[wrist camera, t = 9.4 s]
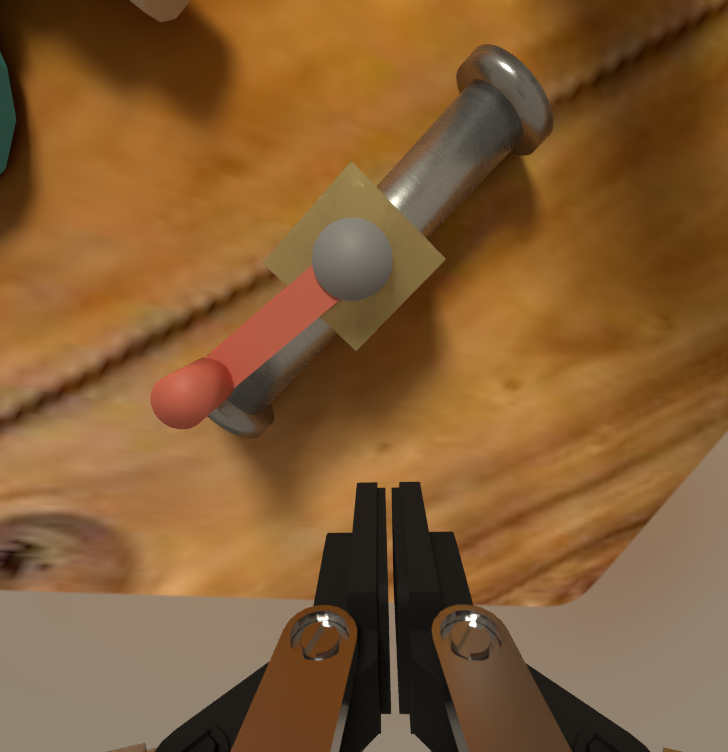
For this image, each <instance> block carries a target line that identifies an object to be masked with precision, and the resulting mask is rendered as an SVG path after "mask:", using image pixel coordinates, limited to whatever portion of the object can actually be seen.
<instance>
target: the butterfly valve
mask: <svg viewBox="0 0 728 752" xmlns="http://www.w3.org/2000/svg"><path fill="white" fill-rule="evenodd" d="M130 1H131V2H132V3H133V4H135V5H136V6H137V7H139V8H140V9H141V10H142V11H144V12H145V13H146V14H148V15H149V16H151V17H152V18H154V19H156V20H157V21H159V22H165V21H169V20H173V19H176V18H177V16H178V15H179V14H180V13H181V12H182V11H183V9H184V8H185V7H186V6H187V5H188V3H189V1H190V0H130ZM15 124H16V115H15V109H14V104H13V98H12V92H11V86H10V81H9V75H8V69H7V66H6V64H5V61H4V59H3V57H2V54H1V52H0V174H1V173H2V172H3V171H4V170H5V169H6V166H7V161H8V156H9V152H10V147H11V142H12V138H13V133H14V128H15Z"/></svg>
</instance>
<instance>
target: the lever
mask: <svg viewBox="0 0 728 752" xmlns="http://www.w3.org/2000/svg"><path fill="white" fill-rule="evenodd" d="M392 261H393V257H392V250H391V246H390V243H389V241H388V239H387V237H386V236H385V234H384V233H383V232H382V231H381V230H380V229H379V228H378V227H377V226H376V225H374V224H373V223H371V222H369V221H367V220H364V219H361V218H352V217H350V218H343V219H340V220H337V221H335V222H333V223H331V224H330V225H328V226H327V227H326V228H325V229H324V230H323V231H322V232H321V233H320V235H319V236H318V238H317V240H316V242H315V244H314V248H313V252H312V266H310V267H309V268H308V269H307V270H306V271H305V272H303V273H302V274H301V275H300V276H299V277H298V278H296V279H295V280H294V281H293V282H292V283H291V284H290V285H288V286H287V287H286V288H285V289H284V290H283V291H281V292H280V293H279V294H278V295H277V296H276V297H274V298H273V299H272V300H271V301H270V302H269V303H267V304H266V305H265V306H264V307H263V308H262V309H261V310H259V311H258V312H257V313H256V314H255V315H254V316H252V317H251V318H250V319H249V320H248V321H247V322H245V323H244V324H243V325H242V326H241V327H240V328H239V329H237V330H236V331H235V332H234V333H233V334H232V335H230V336H229V337H228V338H227V339H226V340H225V341H223V342H222V343H221V344H220V345H219V346H218V347H217V348H215V349H214V350H213V351H212V352H211V353H210V354H208V355H207V356H206V357H204V358H201V359H199V360H197V361H195V362H193V363H191V364H189V365H187V366H185V367H183V368H181V369H179V370H177V371H175V372H173V373H171V374H169V375H167V376H165V377H164V378H162V379H160V380H159V381H158V382H157V383H156V384H155V386H154V388H153V390H152V393H151V405H152V409H153V411H154V413H155V415H156V416H157V417H158V418H159V420H161V421H162V422H163V423H164V424H166V425H168V426H170V427H172V428H176V429H188V428H192V427H194V426H196V425H197V424H199V423H200V422H201V421H202V420H203V419H205V418H206V417H207V416H208V415H209V414H210V413H211V412H213V411H214V410H215V409H216V408H217V407H218V406H219V405H221V404H222V403H223V402H224V401H225V400H226V399H227V398H228V397H229V396H230V395H231V394H232V392H233V390H234V388H235V387H236V386H237V385H238V384H240V383H241V382H242V381H243V380H244V379H246V378H247V377H248V376H249V375H250V374H252V373H253V372H254V371H255V370H256V369H258V368H259V367H260V366H261V365H262V364H264V363H265V362H266V361H267V360H268V359H270V358H271V357H272V356H273V355H274V354H276V353H277V352H278V351H279V350H280V349H281V348H283V347H284V346H285V345H286V344H287V343H289V342H290V341H291V340H292V339H293V338H295V337H296V336H297V335H298V334H299V333H301V332H302V331H303V330H304V329H305V328H307V327H308V326H309V325H310V324H311V323H313V322H314V321H315V320H316V319H317V318H319V317H320V316H321V315H322V314H323V313H325V312H326V311H327V310H328V309H329V308H331V307H332V306H333V305H334V304H335V303H337V302H338V301H339V300H340V299H342V300H347V301H359V300H363V299H366V298H369V297H371V296H372V295H374V294H375V293H377V292H378V291H379V290H380V289H381V288H382V287H383V286H384V285H385V283H386V281H387V280H388V278H389V275H390V273H391V269H392Z"/></svg>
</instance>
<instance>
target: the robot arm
mask: <svg viewBox="0 0 728 752" xmlns="http://www.w3.org/2000/svg"><path fill="white" fill-rule="evenodd" d="M392 532H393V579H394V603H395V625H396V645H397V669H398V692H399V712H400V714H410V727H411V734H415V735H416V736H417V737H418V738H419V739H420V740H421V741H422V742H423V743H424V744H425V745H426V746H427V747H428V748H429V749H430V750H431V752H650V751H649V750H648V749H647V747H646V746H645V745H643V744H642V743H641V742H640V741H639V740H637V739H636V738H635V737H634V736H632V735H631V734H630V733H628V732H627V731H625V730H624V729H623V728H621V727H619V726H618V725H617V724H615V723H614V722H612V721H611V720H609V719H608V718H606V717H605V716H603V715H602V714H600V713H599V712H597V711H596V710H594V709H593V708H591V707H590V706H588V705H587V704H585V703H584V702H582V701H581V700H579V699H578V698H576V697H575V696H574V695H572V694H571V693H569V692H567V691H566V690H564V689H563V688H562V687H560V686H559V685H557V684H556V683H554V682H553V681H551V680H550V679H548V678H547V677H545V676H544V675H542V674H541V673H539V672H538V671H536V670H535V669H533V668H532V667H530V666H529V665H527V664H526V663H525V662H524V660H523V658H522V656H521V654H520V652H519V650H518V648H517V646H516V645H515V643H514V641H513V639H512V637H511V635H510V633H509V631H508V630H507V628H506V627H505V625H504V624H503V623H502V621H501V620H500V619H499V618H498V617H496V616H495V615H494V614H493V613H491V612H489V611H487V610H485V609H483V608H481V607H477V606H473V602H472V599H471V595H470V591H469V588H468V584H467V580H466V576H465V573H464V569H463V565H462V562H461V558H460V554H459V550H458V547H457V543H456V539H455V536H454V533H453V532H429V530H428V525H427V519H426V513H425V508H424V502H423V497H422V491H421V486H420V482H399V488H392ZM381 714H391V692H390V652H389V611H388V570H387V534H386V499H385V488H377V482H374V483H357V489H356V500H355V510H354V521H353V531H352V533H328V534H327V536H326V541H325V546H324V552H323V557H322V563H321V568H320V573H319V579H318V584H317V590H316V595H315V600H314V606H313V607H309V608H306V609H304V610H302V611H301V612H299V613H297V614H296V615H295V616H294V617H293V618H291V619H290V620H289V622H288V623H287V625H286V626H285V628H284V629H283V632H282V634H281V636H280V639H279V641H278V644H277V646H276V648H275V650H274V652H273V655H272V657H271V660H270V662H268V663H267V664H265V665H264V666H263V667H261V668H260V669H258V670H257V671H256V672H254V673H253V674H252V675H250V676H249V677H247V678H246V679H245V680H243V681H242V682H241V683H239V684H238V685H236V686H235V687H234V688H232V689H231V690H229V691H228V692H227V693H225V694H224V695H223V696H221V697H220V698H219V699H217V700H216V701H214V702H213V703H212V704H210V705H209V706H207V707H206V708H205V709H203V710H202V711H201V712H199V713H198V714H197V715H195V716H194V717H192V718H191V719H190V720H188V721H187V722H185V723H184V724H183V725H181V726H180V727H179V728H177V729H176V730H175V731H173V732H172V733H171V734H170V735H169V736H168V737H167V738H166V739H164V740H163V741H162V742H161V744H160V745H159V746H158V748H153V749H149V750H147V749H146V744H145V743H142V744H138V745H133V746H129V747H125V748H120V749H116V750H112V751H108V752H363V750H364V749H365V748H366V746H367V745H368V744H369V743H370V742H371V741H372V740H373V739H374V738H375V737H376V736H377V735H378V734H380V733H381ZM663 752H681V751H676V750H672V749H668V748H663Z"/></svg>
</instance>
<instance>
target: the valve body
mask: <svg viewBox="0 0 728 752" xmlns="http://www.w3.org/2000/svg"><path fill="white" fill-rule="evenodd" d="M457 85H458V89H459V92H460V94H459V95H458V97H457V98H456V99H455V100H454V101H453V102H452V103H451V104H450V105H449V107H448V108H447V109H446V110H445V111H444V112H443V113H442V114H441V115H440V117H439V118H438V119H437V120H436V121H435V122H434V123H433V124H432V125H431V127H430V128H429V129H428V130H427V131H426V132H425V133H424V134H423V135H422V137H421V138H420V139H419V140H418V141H417V142H416V143H415V144H414V146H413V147H412V148H411V149H410V150H409V151H408V152H407V153H406V154H405V156H404V157H403V158H402V159H401V160H400V161H399V162H398V163H397V164H396V166H395V167H394V168H393V169H392V170H391V171H390V172H389V173H388V174H387V176H386V177H385V178H384V179H383V180H382V181H381V182H380V183H379V184H378V186H377V187H376V186H375V185H374V184H373V183H372V182H371V181H370V180H369V179H368V178H367V177H366V176H365V175H364V174H363V173H362V172H361V171H360V170H359V169H358V168H357V167H356V166H355V165H354V164H353V162H352V161H351V162H350V163H349V165H348V166H347V167H346V168H345V169H344V170H343V171H342V173H341V174H340V175H339V176H338V177H337V178H336V180H335V181H334V182H333V183H332V184H331V185H330V186H329V188H328V189H327V190H326V191H325V192H324V193H323V194H322V196H321V197H320V198H319V199H318V200H317V201H316V202H315V204H314V205H313V206H312V207H311V208H310V209H309V210H308V212H307V213H306V214H305V215H304V216H303V217H302V218H301V220H300V221H299V222H298V223H297V224H296V225H295V226H294V228H293V229H292V230H291V231H290V232H289V233H288V234H287V236H286V237H285V238H284V239H283V240H282V241H281V243H280V244H279V245H278V246H277V247H276V248H275V249H274V251H273V252H272V253H271V254H270V255H269V256H268V257H267V259H266V260H265V261H264V262H263V264H264V265H265V266H266V267H267V268H268V269H270V270H271V271H272V272H273V273H274V274H275V275H276V276H277V277H278V278H279V279H280V280H281V281H282V282H283V283H284V284H285V285H286V286H288V285H290V284H291V283H292V282H293V281H294V280H295V279H296V278H298V277H299V276H300V275H301V274H302V273H303V272H305V271H306V270H307V269H308V268H309V267H310V266H312V252H313V248H314V244H315V242H316V240H317V238H318V236H319V235H320V233H321V232H322V231H323V230H324V229H325V228H326V227H327V226H328V225H330V224H331V223H333V222H335V221H337V220H340V219H343V218H350V217H352V218H361V219H364V220H367V221H369V222H371V223H373V224H374V225H376V226H377V227H378V228H379V229H380V230H381V231H382V232H383V233H384V234H385V236H386V237H387V239H388V241H389V243H390V246H391V250H392V257H393V261H392V269H391V273H390V275H389V278H388V280H387V281H386V283H385V285H384V286H383V287H382V288H381V289H380V290H379V291H378V292H377V293H375V294H374V295H372V296H371V297H369V298H366V299H363V300H359V301H347V300H342V299H340V300H339V301H338V302H337V303H335V304H334V305H333V306H332V307H331V308H329V309H328V310H327V311H326V312H325V313H323V314H322V315H321V316H320V317H319V318H317V319H316V320H315V321H314V322H313V323H311V324H310V325H309V326H308V327H307V328H305V329H304V330H303V331H302V332H301V333H299V334H298V335H297V336H296V337H295V338H293V339H292V340H291V341H290V342H289V343H287V344H286V345H285V346H284V347H283V348H281V349H280V350H279V351H278V352H277V353H276V354H274V355H273V356H272V357H271V358H270V359H268V360H267V361H266V362H265V363H264V364H262V365H261V366H260V367H259V368H258V369H256V370H255V371H254V372H253V373H252V374H250V375H249V376H248V377H247V378H246V379H244V380H243V381H242V382H241V383H240V384H238V385H237V386H236V387H235V388H234V390H233V392H232V394H231V395H230V396H229V397H228V398H227V399H226V400H225V401H224V402H223V403H222V404H221V405H219V406H218V407H217V408H216V409H215V410H214V411H213V412H211V413H210V414H209V415H208V417H209V418H210V419H211V420H212V421H213V422H215V423H216V424H218V425H219V426H220V427H222V428H224V429H225V430H227V431H229V432H231V433H233V434H235V435H238V436H241V437H245V438H256V437H259V436H260V435H261V434H262V433H263V432H264V431H265V430H266V429H267V428H268V427H269V426H270V425H271V424H272V423H273V421H274V412H273V409H272V406H271V403H272V402H273V400H274V399H275V398H276V397H277V396H278V395H279V394H280V393H281V392H282V391H283V390H284V389H285V388H286V387H287V386H288V385H289V384H290V383H291V382H292V381H293V379H294V378H295V377H296V376H297V375H298V374H299V373H300V372H301V371H302V370H303V369H304V368H305V367H306V366H307V365H308V364H309V363H310V362H311V361H312V359H313V358H314V357H315V356H316V355H317V354H318V353H319V352H320V351H321V350H322V349H323V348H324V347H325V346H326V345H327V344H328V343H329V342H330V341H331V340H332V338H333V337H334V336H335V335H336V334H338V335H339V336H340V337H341V338H342V339H344V340H345V341H346V342H347V343H348V344H349V345H350V346H351V347H352V348H353V349H354V350H355V351H357V350H358V349H359V348H360V347H361V346H362V345H363V344H364V343H365V342H366V341H367V340H368V339H369V338H370V337H371V336H372V335H373V334H374V333H375V332H376V330H377V329H378V328H379V327H380V326H381V325H382V324H383V323H384V322H385V321H386V320H387V319H388V318H389V317H390V316H391V315H392V314H393V313H394V312H395V311H396V310H397V309H398V308H399V307H400V306H401V305H402V304H403V303H404V302H405V301H406V300H407V299H408V298H409V297H410V296H411V294H412V293H413V292H414V291H415V290H416V289H417V288H418V287H419V286H420V285H421V284H422V283H423V282H424V281H425V280H426V279H427V278H428V277H429V276H430V275H431V274H432V273H433V272H434V271H435V270H436V269H437V268H438V267H439V266H440V265H441V264H442V263H443V262H444V261H445V260H446V258H445V257H444V256H443V255H442V254H441V253H440V252H439V251H438V250H437V249H436V248H435V247H434V246H433V245H432V244H431V243H430V242H429V241H428V240H427V239H428V238H429V237H430V235H431V234H432V233H433V232H434V231H435V230H436V229H437V228H438V227H439V226H440V225H441V224H442V223H443V222H444V221H445V220H446V219H447V218H448V217H449V215H450V214H451V213H452V212H453V211H454V210H455V209H456V208H457V207H458V206H459V205H460V204H461V203H462V202H463V201H464V200H465V199H466V198H467V197H468V196H469V194H470V193H471V192H472V191H473V190H474V189H475V188H476V187H477V186H478V185H479V184H480V183H481V182H482V181H483V180H484V179H485V178H486V177H487V176H488V175H489V173H490V172H491V171H492V170H493V169H494V168H495V167H496V166H497V165H498V164H499V163H500V162H501V161H502V160H503V159H504V158H505V157H506V156H507V155H508V153H509V152H512V153H514V154H517V155H522V156H526V155H530V154H532V153H533V152H534V151H535V150H536V149H537V148H538V147H539V146H540V144H541V143H542V142H543V141H544V140H545V139H546V138H547V137H548V136H549V135H550V134H551V132H552V129H553V114H552V110H551V106H550V104H549V101H548V98H547V96H546V94H545V92H544V91H543V89H542V87H541V85H540V84H539V82H538V81H537V80H536V78H535V77H534V76H533V74H532V73H531V72H530V71H529V70H528V68H527V67H526V66H525V65H524V64H523V63H522V62H521V61H520V60H518V59H517V58H516V57H515V56H513V55H512V54H511V53H509V52H508V51H506V50H504V49H502V48H500V47H498V46H495V45H490V44H484V45H480V46H478V47H477V48H476V49H475V50H474V51H473V52H472V53H471V55H470V56H469V57H468V58H467V59H466V60H465V61H464V62H463V64H462V65H461V66H460V67H459V69H458V71H457Z"/></svg>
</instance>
